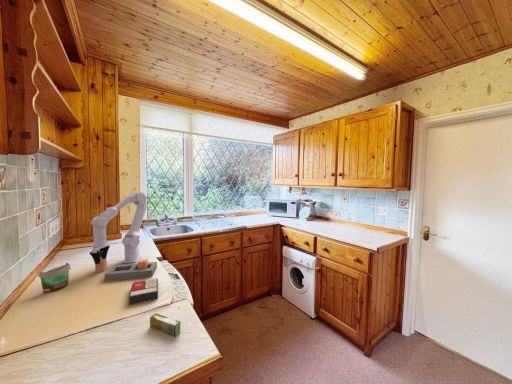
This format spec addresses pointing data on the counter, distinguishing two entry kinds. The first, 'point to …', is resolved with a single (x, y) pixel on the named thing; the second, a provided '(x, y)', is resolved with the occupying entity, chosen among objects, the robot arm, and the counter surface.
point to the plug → (101, 266)
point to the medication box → (165, 324)
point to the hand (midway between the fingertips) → (100, 261)
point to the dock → (131, 270)
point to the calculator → (143, 291)
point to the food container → (55, 278)
